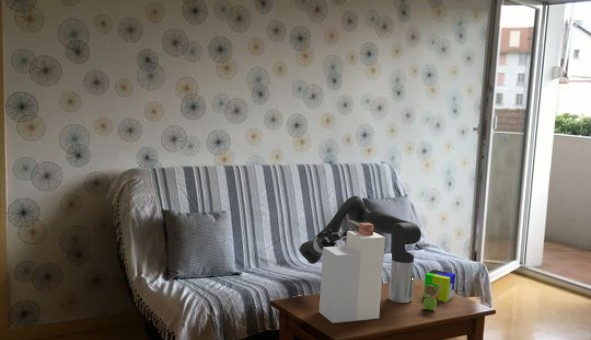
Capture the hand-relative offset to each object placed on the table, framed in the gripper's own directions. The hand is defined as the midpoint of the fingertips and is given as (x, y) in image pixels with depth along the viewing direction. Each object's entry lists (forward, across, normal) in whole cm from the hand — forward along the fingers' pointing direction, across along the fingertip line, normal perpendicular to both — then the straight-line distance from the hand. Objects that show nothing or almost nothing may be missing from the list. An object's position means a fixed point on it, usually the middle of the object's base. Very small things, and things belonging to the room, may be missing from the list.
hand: (340, 231), depth 258 cm
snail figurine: (+6, -32, -36) cm, 48 cm away
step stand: (+4, +4, -35) cm, 35 cm away
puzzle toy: (-6, -46, -29) cm, 54 cm away
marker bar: (+14, 0, -4) cm, 15 cm away
